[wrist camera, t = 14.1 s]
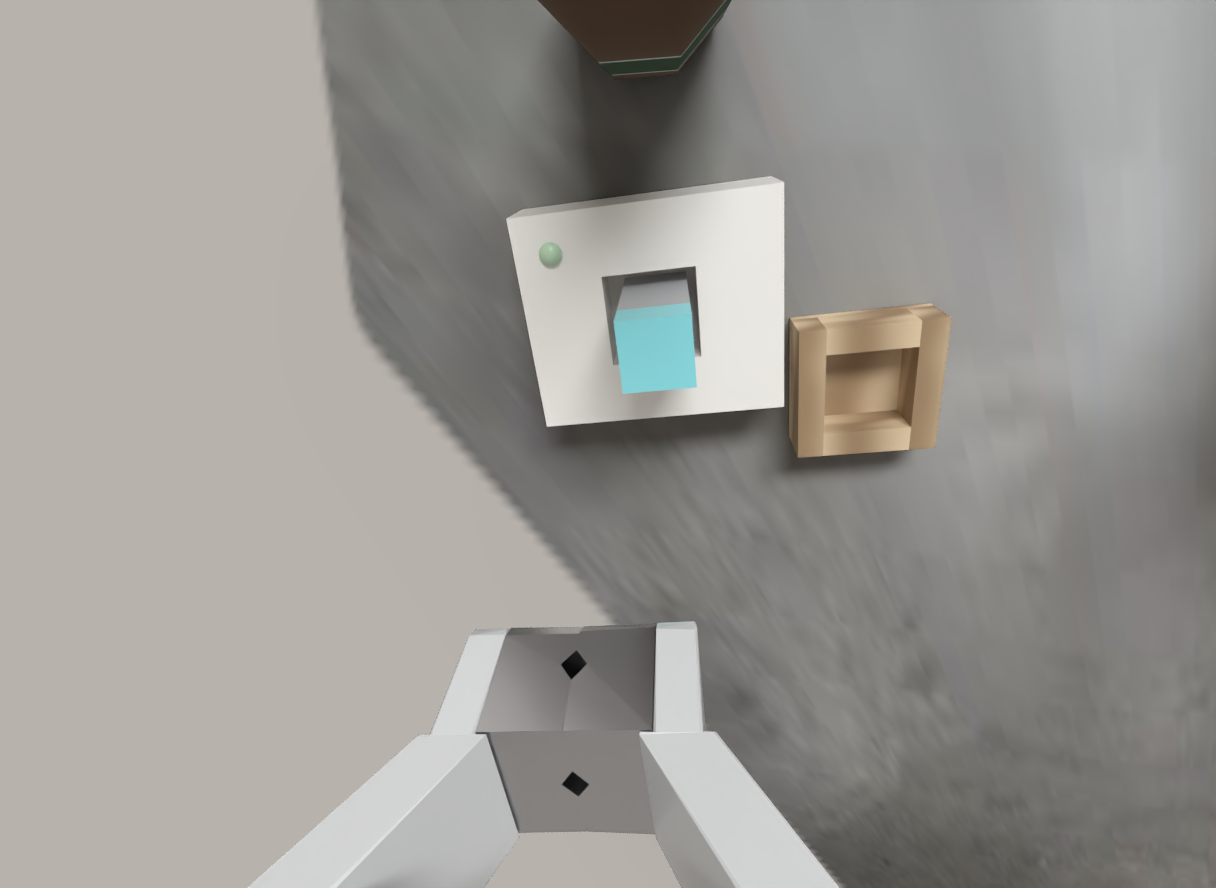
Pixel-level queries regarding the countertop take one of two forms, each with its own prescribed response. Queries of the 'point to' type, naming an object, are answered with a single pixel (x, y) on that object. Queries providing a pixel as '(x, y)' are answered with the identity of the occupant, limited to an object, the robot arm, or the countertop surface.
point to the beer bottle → (639, 31)
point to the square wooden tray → (867, 380)
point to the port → (648, 245)
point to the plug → (655, 334)
